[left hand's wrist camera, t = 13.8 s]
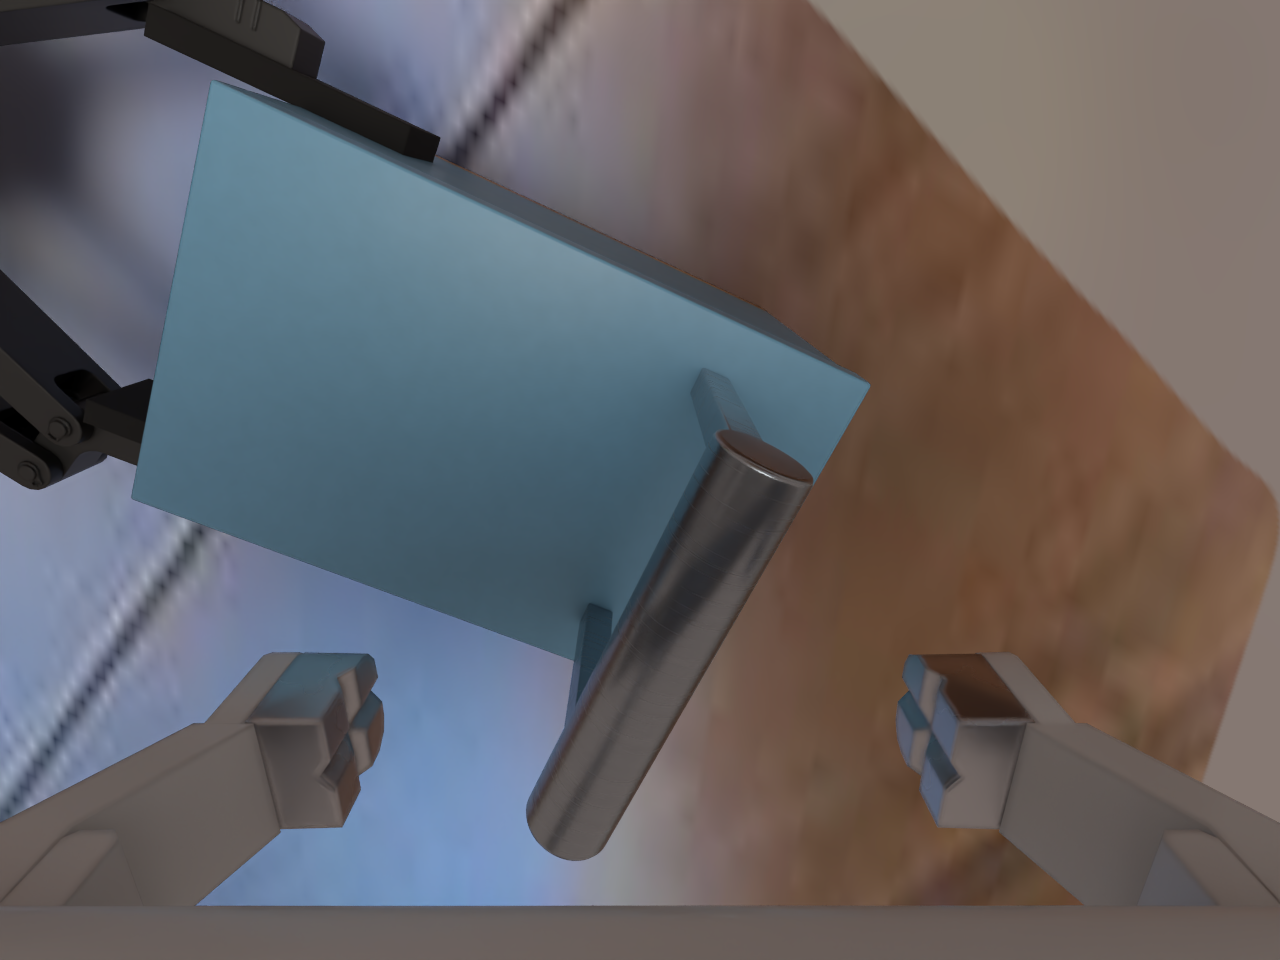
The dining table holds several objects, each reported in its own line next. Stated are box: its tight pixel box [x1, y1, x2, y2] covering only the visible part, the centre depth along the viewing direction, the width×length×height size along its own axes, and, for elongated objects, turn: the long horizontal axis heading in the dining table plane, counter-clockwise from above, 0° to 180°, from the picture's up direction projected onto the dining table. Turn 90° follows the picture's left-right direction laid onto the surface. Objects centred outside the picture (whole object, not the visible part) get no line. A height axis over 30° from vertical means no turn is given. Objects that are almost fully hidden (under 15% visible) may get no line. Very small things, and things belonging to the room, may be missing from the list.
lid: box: [131, 80, 870, 861], centre depth 14 cm, size 15×10×8 cm, turn 66°
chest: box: [249, 91, 834, 363], centre depth 23 cm, size 15×10×11 cm
